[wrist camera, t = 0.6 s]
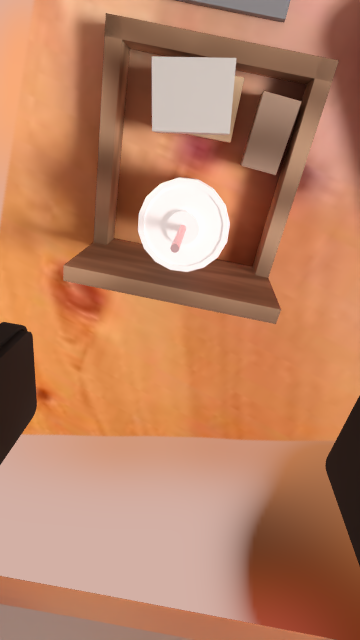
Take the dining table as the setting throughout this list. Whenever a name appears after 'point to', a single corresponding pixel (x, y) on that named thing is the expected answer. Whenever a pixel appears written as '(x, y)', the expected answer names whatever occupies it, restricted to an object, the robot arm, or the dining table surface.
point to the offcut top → (192, 95)
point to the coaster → (249, 7)
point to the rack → (106, 252)
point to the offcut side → (270, 132)
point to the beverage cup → (183, 224)
